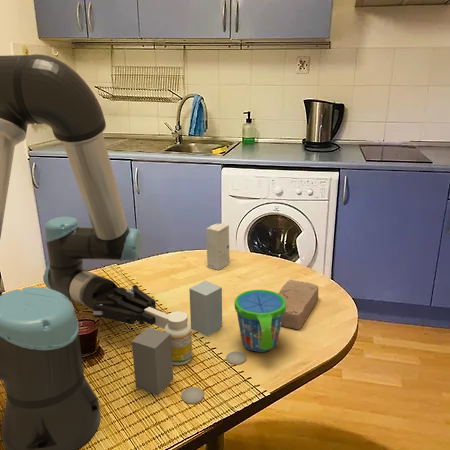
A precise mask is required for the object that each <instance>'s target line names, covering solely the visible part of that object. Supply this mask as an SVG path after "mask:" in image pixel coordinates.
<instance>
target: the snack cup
mask: <svg viewBox="0 0 450 450" xmlns="http://www.w3.org/2000/svg"><path fill="white" fill-rule="evenodd" d="M278 293H279V292H278ZM278 293H277V292H275V291H272V290H269V289H268V290H266V289H251V290H246V291H243V292H241V293H239V294H238V295H237V296H236V298H235V300H234V309H235V312H236V315H237V321H238V322H237V323H238V327H239V332H240V339H241V342H242V344H243V346H244V347H245V349H246V350H250V351H253V352H258V353H266V352H267V351H272V350H273V349H275V347H277V345H278V342H279V338H280V332H281V328H282V326H281V323H282V318H283V314H284V312H285V311H286V301H285V299H284V298H283V297H282V296H281V295H280V294H278Z"/></svg>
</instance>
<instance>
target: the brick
mask: <svg viewBox="0 0 450 450" xmlns="http://www.w3.org/2000/svg"><path fill="white" fill-rule="evenodd" d="M278 294H280V295H281V296H282V297H283V298H284V299H285V301H286V311H285V312H284V314H283V318H282V323H281V327H285V328H291V329H293V330H300V329H301V328H302V327H303V325H304V323H305V322H306V321H307V319H308V317H309V315H310V314H311V311H312V310H313V307H315V305H316V304H317V302H318V300H319V286H318V285H317V284H316V283H315V284H314V283H311V282H304V281H299V280H294V279H289V280H287V281H286V282H285V283H284V284H283V286H282V287H281V289H280V290H279V292H278Z"/></svg>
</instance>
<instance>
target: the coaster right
mask: <svg viewBox="0 0 450 450" xmlns="http://www.w3.org/2000/svg"><path fill="white" fill-rule="evenodd" d="M225 357H226V358H225V359H226V361H227V363H228V364H231V365H235V366H237V365H242V364H244V363H245V362H246V360H247V356H246V354H245V353H244V352H241V351H237V350H236V351H230V352H228V353H227V354H226V355H225Z"/></svg>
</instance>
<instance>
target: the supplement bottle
mask: <svg viewBox="0 0 450 450" xmlns="http://www.w3.org/2000/svg"><path fill="white" fill-rule="evenodd" d="M167 314H168V316H167V323H168V324H167V325H166V326H165V329H163V332H166V333H170V334H171V346H172V364H173V366H183V365H186V364H187V363H189V362H190V361H191V360H192V358H193V340H192V339H193V337H192V328H191V323H189V322H188V321H189V320H188V314H187V313H185V312H184V311H177V310H176V311H173V312H170V313H167Z"/></svg>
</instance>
